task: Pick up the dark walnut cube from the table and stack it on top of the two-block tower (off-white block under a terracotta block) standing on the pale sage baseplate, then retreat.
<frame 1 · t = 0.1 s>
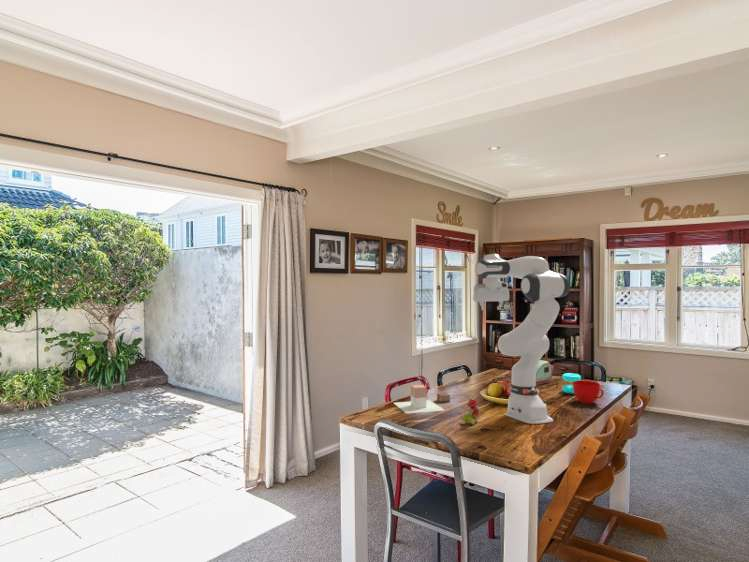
hand: (491, 309, 258), 48 cm above the table, fingers open, 8 cm apart
baseplate: (418, 408, 238), on the table
bird rattle: (472, 423, 215), on the table
ceramic cup: (589, 403, 250), on the table
block a: (418, 406, 238), point 1 cm above the table, touching baseplate, block b
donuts: (571, 392, 274), on the table
walnut cube: (443, 403, 248), on the table
block b: (418, 396, 238), point 6 cm above the table, touching block a
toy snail: (540, 383, 299), on the table
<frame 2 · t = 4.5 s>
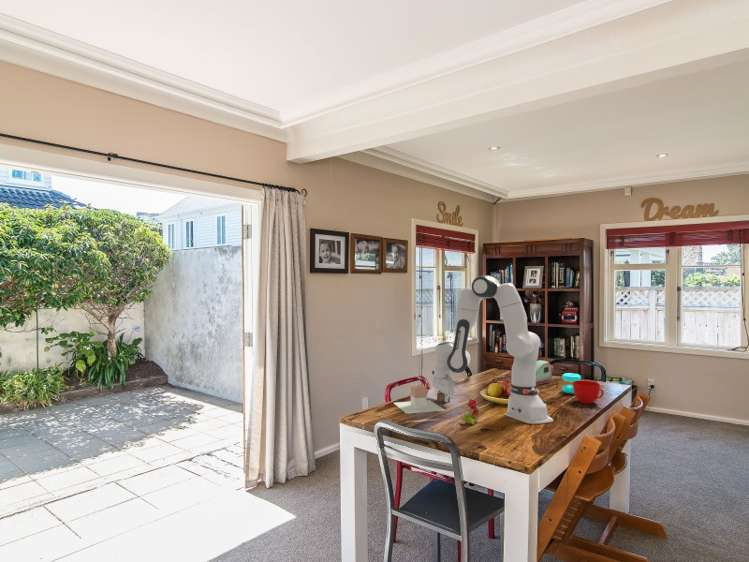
hand: (443, 400, 248), 2 cm above the table, fingers closed on walnut cube, 5 cm apart
walnut cube: (443, 403, 248), on the table, touching gripper
everything else where it was.
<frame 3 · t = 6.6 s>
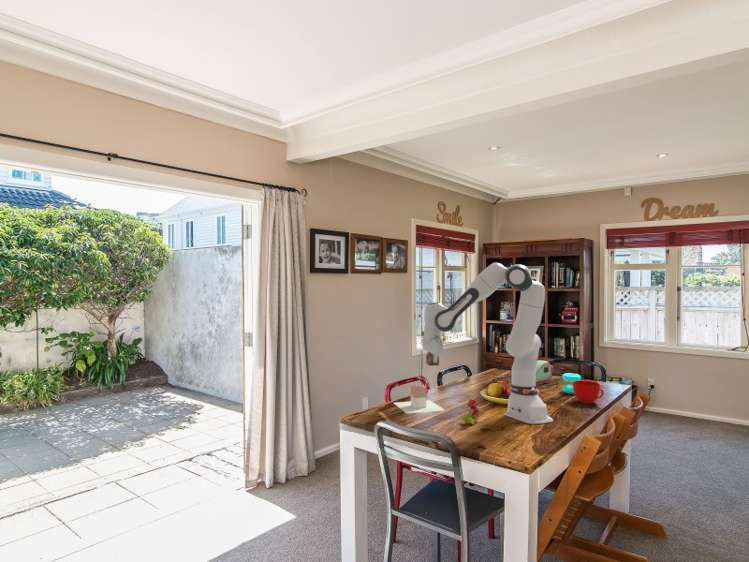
hand: (432, 361, 244), 23 cm above the table, fingers closed on walnut cube, 5 cm apart
walnut cube: (432, 364, 244), point 21 cm above the table, touching gripper
everything else where it was.
when the fingers open (14 cm above the table, at t = 9.2 s): walnut cube drops 1 cm, resting on block b.
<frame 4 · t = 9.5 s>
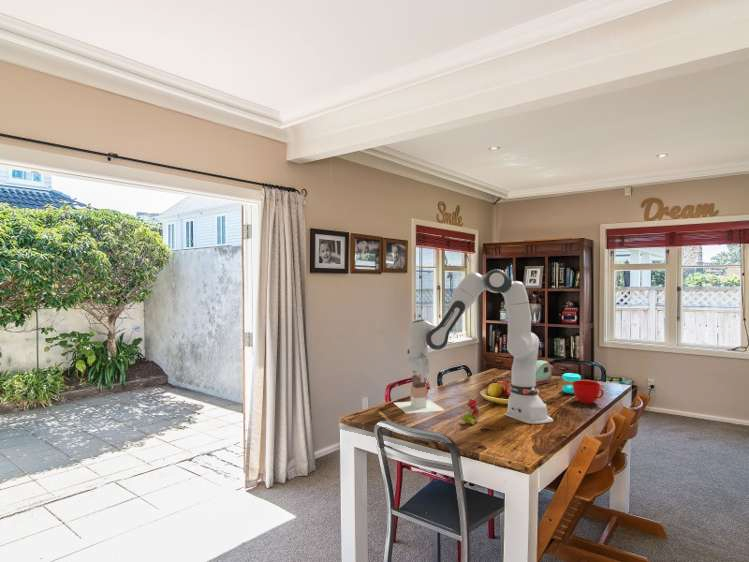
hand: (418, 380, 238), 14 cm above the table, fingers open, 8 cm apart
walnut cube: (418, 386, 238), point 11 cm above the table, touching block b
block b: (418, 396, 238), point 6 cm above the table, touching block a, walnut cube
everything else where it was.
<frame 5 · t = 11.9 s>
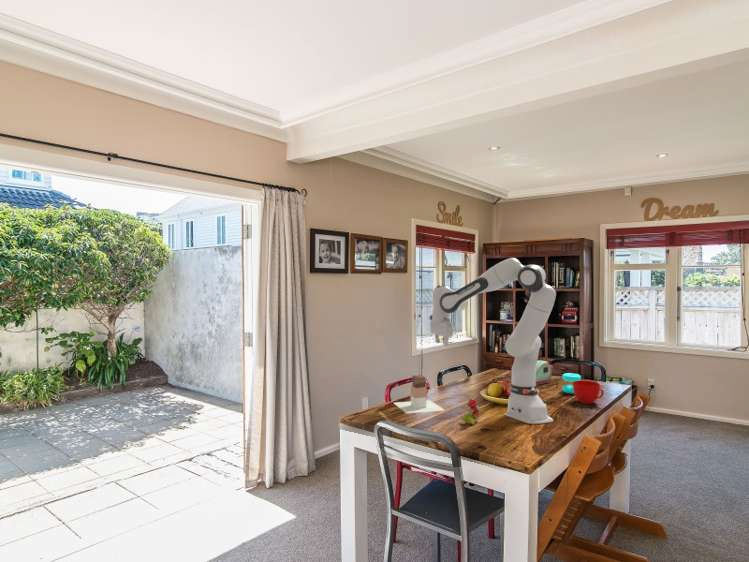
hand: (441, 344, 248), 31 cm above the table, fingers open, 8 cm apart
nothing on the table moved.
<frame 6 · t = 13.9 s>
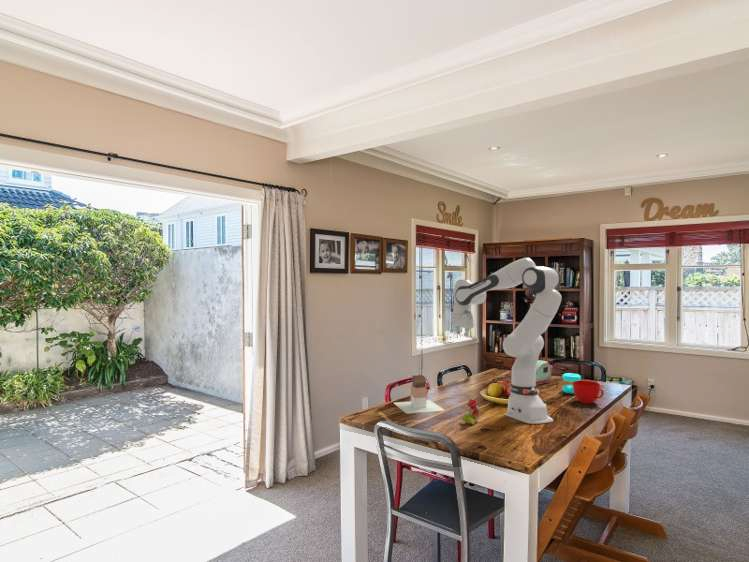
hand: (462, 335, 259), 34 cm above the table, fingers open, 8 cm apart
nothing on the table moved.
at the end: walnut cube 0.1 cm off-centre on the block a, point 10.0 cm above the block a's base; walnut cube tilted 0°; the gripper is holding nothing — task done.
